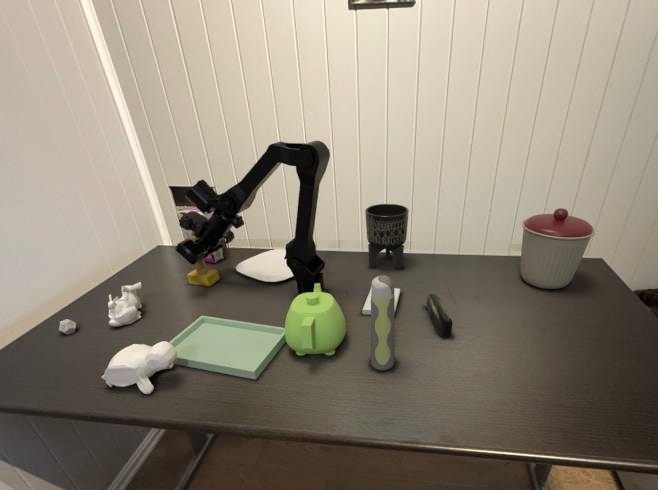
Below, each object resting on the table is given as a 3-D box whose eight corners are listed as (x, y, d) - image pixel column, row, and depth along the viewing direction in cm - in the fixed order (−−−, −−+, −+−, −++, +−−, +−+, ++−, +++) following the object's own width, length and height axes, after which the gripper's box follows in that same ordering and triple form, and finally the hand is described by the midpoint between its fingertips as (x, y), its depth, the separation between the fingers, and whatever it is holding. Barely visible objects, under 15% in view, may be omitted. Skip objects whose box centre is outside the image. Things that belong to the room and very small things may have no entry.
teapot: (295, 319, 93) (289, 273, 87) (349, 318, 93) (346, 273, 87) (278, 372, 76) (268, 320, 70) (343, 371, 76) (340, 320, 70)
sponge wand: (219, 279, 114) (208, 234, 106) (209, 286, 110) (197, 241, 102) (200, 276, 115) (187, 233, 108) (189, 283, 111) (175, 239, 104)
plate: (279, 250, 133) (278, 245, 132) (325, 264, 122) (325, 259, 121) (228, 272, 118) (226, 267, 117) (275, 290, 107) (274, 285, 106)
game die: (57, 334, 90) (51, 324, 88) (72, 326, 93) (67, 316, 91) (67, 337, 89) (61, 327, 87) (82, 329, 91) (77, 319, 90)
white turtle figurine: (117, 403, 74) (175, 386, 70) (85, 372, 70) (145, 352, 66) (143, 374, 81) (197, 357, 77) (116, 344, 77) (172, 325, 73)
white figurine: (138, 304, 101) (125, 272, 96) (162, 307, 100) (151, 274, 95) (103, 329, 91) (87, 294, 86) (130, 332, 90) (115, 297, 85)
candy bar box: (225, 258, 127) (214, 210, 119) (215, 263, 123) (202, 214, 115) (199, 253, 131) (187, 207, 122) (189, 259, 127) (175, 211, 118)
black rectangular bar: (455, 320, 83) (434, 287, 95) (442, 321, 83) (423, 288, 95) (452, 338, 86) (432, 304, 98) (440, 339, 85) (421, 305, 98)
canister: (591, 284, 106) (615, 210, 95) (553, 303, 98) (575, 224, 87) (535, 263, 119) (551, 196, 108) (497, 278, 111) (510, 207, 100)
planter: (369, 255, 127) (368, 203, 117) (407, 257, 125) (409, 204, 116) (363, 272, 116) (362, 215, 107) (405, 274, 114) (407, 216, 105)
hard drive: (400, 293, 104) (394, 317, 93) (371, 291, 105) (362, 314, 95) (400, 288, 103) (394, 311, 93) (371, 286, 104) (361, 308, 94)
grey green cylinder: (371, 356, 80) (369, 272, 70) (393, 356, 80) (395, 272, 70) (370, 371, 76) (368, 284, 66) (394, 371, 76) (396, 284, 65)
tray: (290, 335, 87) (289, 328, 86) (255, 379, 75) (254, 371, 74) (204, 322, 93) (201, 315, 92) (158, 361, 80) (155, 353, 79)
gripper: (216, 194, 107) (193, 228, 115) (170, 213, 92) (148, 251, 100) (246, 223, 109) (221, 254, 118) (206, 246, 94) (181, 281, 102)
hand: (194, 259), depth 109 cm, fingers closed on sponge wand, 3 cm apart
